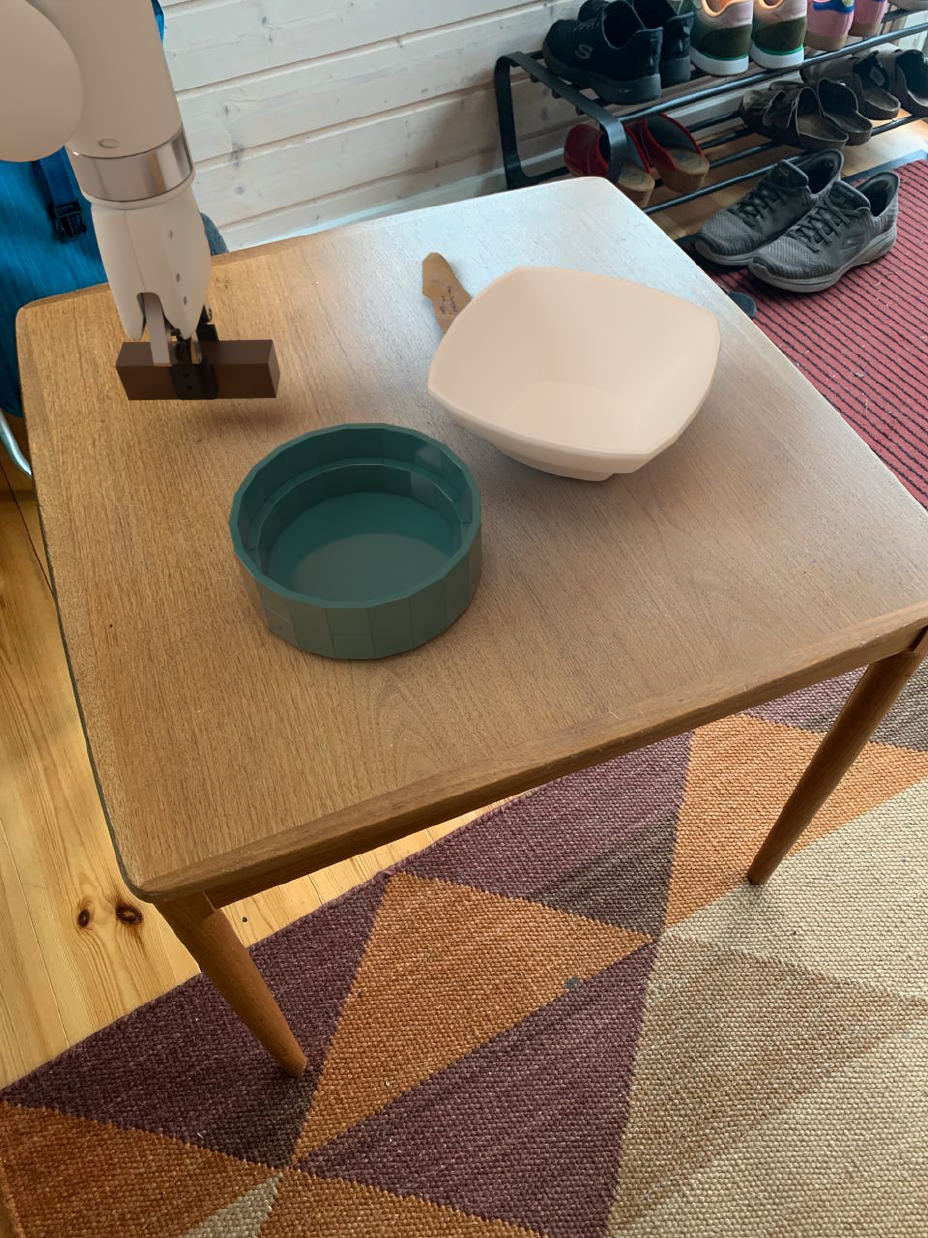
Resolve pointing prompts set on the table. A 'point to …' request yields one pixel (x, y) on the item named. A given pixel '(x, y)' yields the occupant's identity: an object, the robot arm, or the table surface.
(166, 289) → the robot arm
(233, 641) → the table surface
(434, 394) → the bowl
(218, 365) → the brown wooden block
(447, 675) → the table surface
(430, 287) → the stone tool
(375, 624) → the mixing bowl
